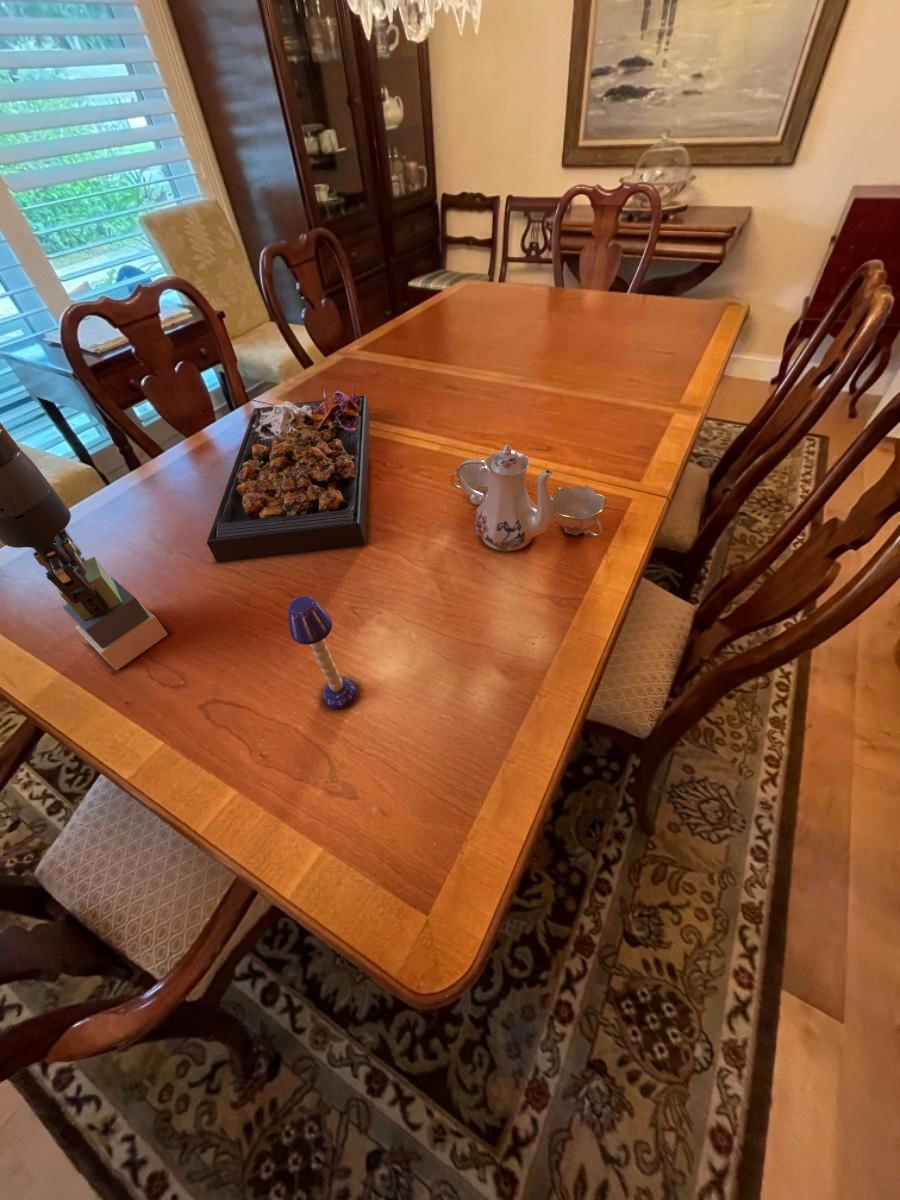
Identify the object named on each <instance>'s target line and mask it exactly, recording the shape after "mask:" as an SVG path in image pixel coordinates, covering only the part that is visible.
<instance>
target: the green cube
mask: <svg viewBox="0 0 900 1200" xmlns="http://www.w3.org/2000/svg"><path fill="white" fill-rule="evenodd" d="M85 560H86V561H83V564H84V565H85V567H86V568H87V574H86V576H87V577H88V579H89V580H90V582H91V583H92V584H94V586H95V589H96V590H97V592H98V593H99V594H100V595H101V596H102V598H103V599H104V600H105V601H106V603H107V604H108V606H109V609H111V608H113V607H115V606H117V605H119V604H122V601H121V598H120V595H119V593H118V590H117V588H116V585H115V583H114V582H113V580H112V579H111V576H110V575H109V574H108V572H107V571H106V569H105V568H104V566H103V565H102V564H101V563H100V562H99V560H98V559H97V558H96V557H95V556H93V557H90V558H88V559H85ZM74 568H75V570H77V569H78V566H74ZM58 591H59V595H60V597H61V598H62V599H63V600H64V601H65V602H66V603H67V604H69V605H70V607H71V608H72V609H73V610H74V611H75V612H76V613H77V614H78V616H79V617H80V618H81V619H82V620H83V621H85V620H87V619H89V618H91V617H93V616H92V615H91V614H90V613H89V612H88V611H87V610H86V608H85V607H84V606H83V605H82V604H81V603H80V602H78V603H76V604H74V603H73V602H71V601H70V599H69V598H68V597H67V596H66V595H65V594H64V593H63V592H61V591H60V590H59V589H58Z"/></svg>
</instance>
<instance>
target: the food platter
mask: <svg viewBox="0 0 900 1200" xmlns="http://www.w3.org/2000/svg"><path fill="white" fill-rule="evenodd" d="M355 389H356V388H355V382H353V383H352V395H350V396H349V395H346V394H345V393H344V392H342V391H339V390H335V392H334V393H333V394H332V397H330V398H328V396H327V389H326V387H323V398H324V399H323V400H314V401H304V402H296V403H292V402H290V401H288V400H285V401H284V403H283V402H282V403H281V404H273V405H270V406H264V407H255V408H253V410H252V413H251V416H250V418H249V422H248V425H247V427H246V430H245V433H244V435H243V438H242V441H241V444H240V447H239V450H238V453H237V455H236V458H235V461H234V464H233V467H232V469H231V472H230V475H229V478H228V480H227V483H226V486H225V489H224V492H223V495H222V498H221V500H220V503H219V506H218V509H217V512H216V514H215V518H214V520H213V523H212V526H211V529H210V531H209V534H208V537H207V540H206V544H207V548H209V551H210V552H211V554H212V556H213V558H214V560H215V562H216V563H225V562H234V561H242V560H243V561H244V560H251V559H258V558H259V559H260V558H267V557H276V556H285V555H294V554H301V553H310V552H311V553H312V552H319V551H326V550H327V551H328V550H336V549H343V548H351V547H352V548H353V547H362V546H366V536H367V535H366V534H367V533H366V532H367V510H368V509H367V508H368V507H367V506H368V503H367V502H368V482H369V480H368V478H369V457H370V456H369V454H370V453H369V451H370V430H371V429H370V426H371V425H370V424H371V412H370V408H369V401H368V396H367V395H366V394H365V395H357V396H356V394H355Z"/></svg>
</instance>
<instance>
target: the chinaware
mask: <svg viewBox="0 0 900 1200" xmlns="http://www.w3.org/2000/svg"><path fill="white" fill-rule="evenodd" d="M529 466H530V459H529V457H528V456H527V455H526V454H525V453H523V452H519V451H517V450H513V448H512V447H510V445H509V444H506V445H504V446H503V447H502V448H501V450H499V451H497V452H493V453H491V454H490V455H488V457H486V458H485V459H484V458H476V459H474V458H470V459H466V460H465V461H463V462H462V463H461V464H460V465H459V467H456V472H454V473H453V474H452V475H451V477H450V481H451V484H452V485H453V486H454V487H455V488H456V489H460V490H461V489H462V490H463V492H464V493H465V494H466V495H467V496H468V497H469V501H470V502H471V504H473V505H476V506H477V505H478V507H476V508H477V509H476V510H475V514H474V515H475V519H474V520H475V521H474V524H473V530H474V532H475V533H476V534H477V535H478V536H479V537H481V540H482V542H483V544H484V545H485V546H487V547H489V548H490V549H491V550H494V551H497V552H505V553H507V552H508V553H510V552H516V551H519V550H522V549H524V548H526V547H527V546H529V545H530V543H532V541H533V539H534V537H537V536H540V535H542V534H544V533H545V532H546V531H547V530H548V529H549V527H550V526H551V524H552V522H553V520H554V518H555V520H556V521H557V523H558V524H559V525H560V526H561V527H562V528H563V531H564V533H566V534H570V535H572V536H573V535H574V536H578V535H580V534H582V533H583V535H587V534H590V535H592V536H593V537H600V536H601V535H602V532H603V525H602V523H601V521H600V520H599V519H598V517H599V516H600V515H601V513H602V511H603V510H604V508H605V506H606V502H607V499H606V497H605V496H604V495H602V494H599V493H597V492H596V491H595V490H594V489H593V488H592V487H590V486H588V485H577V486H574V487H572V488H571V487H566V486H562V487H558V488H557V489H556V490H555V491H554V492H553V494H552V496H551V493H550V490H549V486H548V479H549V478H550V476H552V475H553V474H554V471H553V470H552V469H546V470H543V471H542V472H541V473H539V475H538V477H537V479H536V499H537V504H536V503H535V502H534V501H533V500H532V498H531V497H530V495H529V492H528V490H527V486H526V475H527V471H528V468H529ZM455 475H456V478H457V482H458V483H459V485H458V484H456V483H455V481H454V476H455ZM595 523H596V524H597V526H598V533H597V534H596V533H595V532H593V531H592V530H591V529H590V528H589V527H590V526H592V525H593V524H595Z"/></svg>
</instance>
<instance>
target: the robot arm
mask: <svg viewBox="0 0 900 1200" xmlns="http://www.w3.org/2000/svg"><path fill="white" fill-rule="evenodd" d="M70 511H71V510H70V509H69V508H68V507H67V505H66V504H65V503H64V501H63V499H61V497H60V496H59V494H58V493H57V492H56V491H55V489H54V487H53V486H52V485H51V484H50V482H49V481H48V479H47V478H46V477H45V476H44V475H43V473H42V472H41V470H40V469H39V467H38V466H37V465H36V463H34V462H33V460H32V459H31V458H30V457H29V456H28V455H27V454H26V453H25V452H24V451H23V450H22V449H21V447H20V446H19V445H18V444H17V442H16V441H15V440H14V438H13V437H12V436H11V435H10V434H9V432H8V431H7V429H6V428H5V427H4V425H3V424H2V422H1V421H0V542H1V543H2V544H3V545H5V546H7V547H10V548H16V549H22V548H32V549H33V550H34V552H32V555H33V557H34V559H35V560H36V561H37V563H38V564H39V566H41V567H44V568H45V569H46V572H45V575H46V578H47V580H49V581H50V582H51V583H52V584H53V585H54V586H55V587H56V588H57V589H58V591H59V590H60V591H61V592H63V593H64V594H65V595H66V596H67V597H68V598H69V599H70V601H71V602H73V603H74V604H76V603H78V602H80V603H81V604H82V605H83V606H84V607H85V608H86V610H87V611H88V612H89V613H90V614H91V615H92V616H98V615H100V614H102V613H105V612H107V611H108V610H109V606H108V604H107V603H106V601H105V600H104V599H103V598H102V596H101V595H100V594H99V593H98V592H97V590H96V589H95V586H94V584H92V583H91V582H90V580H89V579H88V577H87V576H86V574H87V568H86V567H85V565H84V564H83V561H86V560H87V559H86V558H85V557H84V556H83V555H82V549H81V548H80V547H79V545H78V544H77V543H76V542H75V541H74V540H73V538H72V536H71V533H70V532H69V531H68V530H67V529H66V528H67V527H68V525H69V524H70V521H71V519H72V518H71V517H72V513H71V512H70ZM74 566H78V569H77V570H75V568H74Z"/></svg>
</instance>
